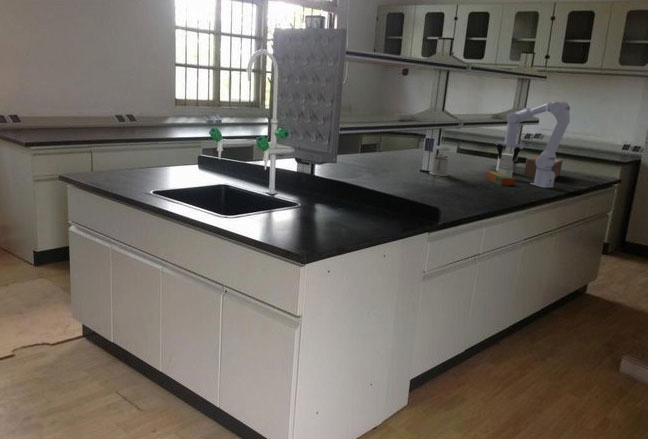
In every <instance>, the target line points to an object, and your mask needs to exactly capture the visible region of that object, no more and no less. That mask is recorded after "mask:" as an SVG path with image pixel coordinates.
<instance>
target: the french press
mask: <svg viewBox="0 0 648 439" xmlns="http://www.w3.org/2000/svg"><path fill="white" fill-rule="evenodd" d="M445 135H446V132H444V135H443V137H445ZM442 140H443V141H442V144H441V145H436V146H434V149H435V150H438V151H439V152H438V154H434V157H433V159H432V160H433V161H432V166H431V171H429V172H428V173H429V174H430V175H434V176H437V177H438V176H440V177H441V176H442V177H447V176H448V173H447V172H448V171H447V170H448V162H449V159H448V156H447V155H444V152H443V151H446V152H449V151H451V149H450V148H449V147H448V146H446V145H444V142H445V139H442ZM440 151H442V152H440Z"/></svg>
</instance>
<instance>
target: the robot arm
mask: <svg viewBox="0 0 648 439" xmlns="http://www.w3.org/2000/svg"><path fill="white" fill-rule="evenodd" d="M545 112H548V113H551V114H552V115H553V116H554V117H555V120H556V125H555V127H554V129H553V131H552V133H551V135H550V137H549V140H548V142H547V144H546V146H545V148H544V150H543V151H541V153H540V155H538V156H539V157H538V158H537V159H536V166H537V169H536V174H535V178H533V179H534V180H533V182H530V183H529V184H530V185H533V186H537V187H540V188H547V189H548V188H550V189H551V188H554V183H555V179H556V178H555V173H554V172H553V171H551V167H553V166H554V164H555V158H556V157H557V155H556V152H557V150H558V147H559V146H560V143H561V141H562V139H563V137H564V135H565V132H566V130H567V128H568V126H569V124H570V122H571V121H570V120H571V119H570V118H571V117H570V116H571V115H570V114H571V113H570V112H571V107H570V105H569V104H568V103H567V102H566V101H557V100H555V101H552V102H547V103H544V104H541V105H539V106H537V107H534V108H530V107H524V108H523V109H522V110H516V111H515V112H510V113H508V114H507V116H506V122H507V124H506V130H505V131H506V132H505V137H504V141H500V140H496V141H495V145H496V149H497V152H498V156H499V159H501V157H502V153H503V151H504V148H505V147H508V148H513V160H512V161H513V162H516V159H517V156H518V155H519V153H520V152H521V150H523V149H524V145H523V144H519V143H516V141H517V137H518V136H517V134H518V130H519V125H520V123H522V122H525V121H528V120H530V119H532V118H533V117H534V116H536V115H539V114H542V113H545ZM556 159H557V158H556Z"/></svg>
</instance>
